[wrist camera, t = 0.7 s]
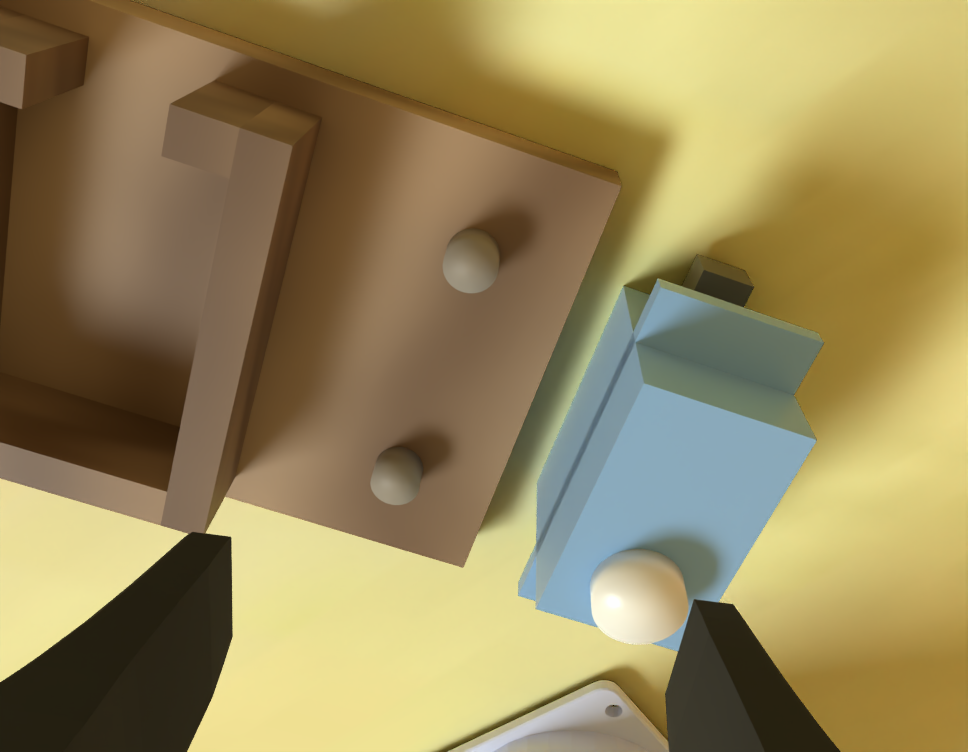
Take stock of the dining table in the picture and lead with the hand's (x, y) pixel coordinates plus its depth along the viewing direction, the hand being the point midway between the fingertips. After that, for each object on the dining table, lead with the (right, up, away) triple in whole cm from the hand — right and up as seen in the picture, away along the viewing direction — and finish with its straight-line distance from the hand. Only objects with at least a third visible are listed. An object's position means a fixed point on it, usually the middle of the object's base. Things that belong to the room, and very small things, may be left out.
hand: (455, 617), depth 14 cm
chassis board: (-6, +6, +8) cm, 12 cm away
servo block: (+5, +3, +9) cm, 10 cm away
